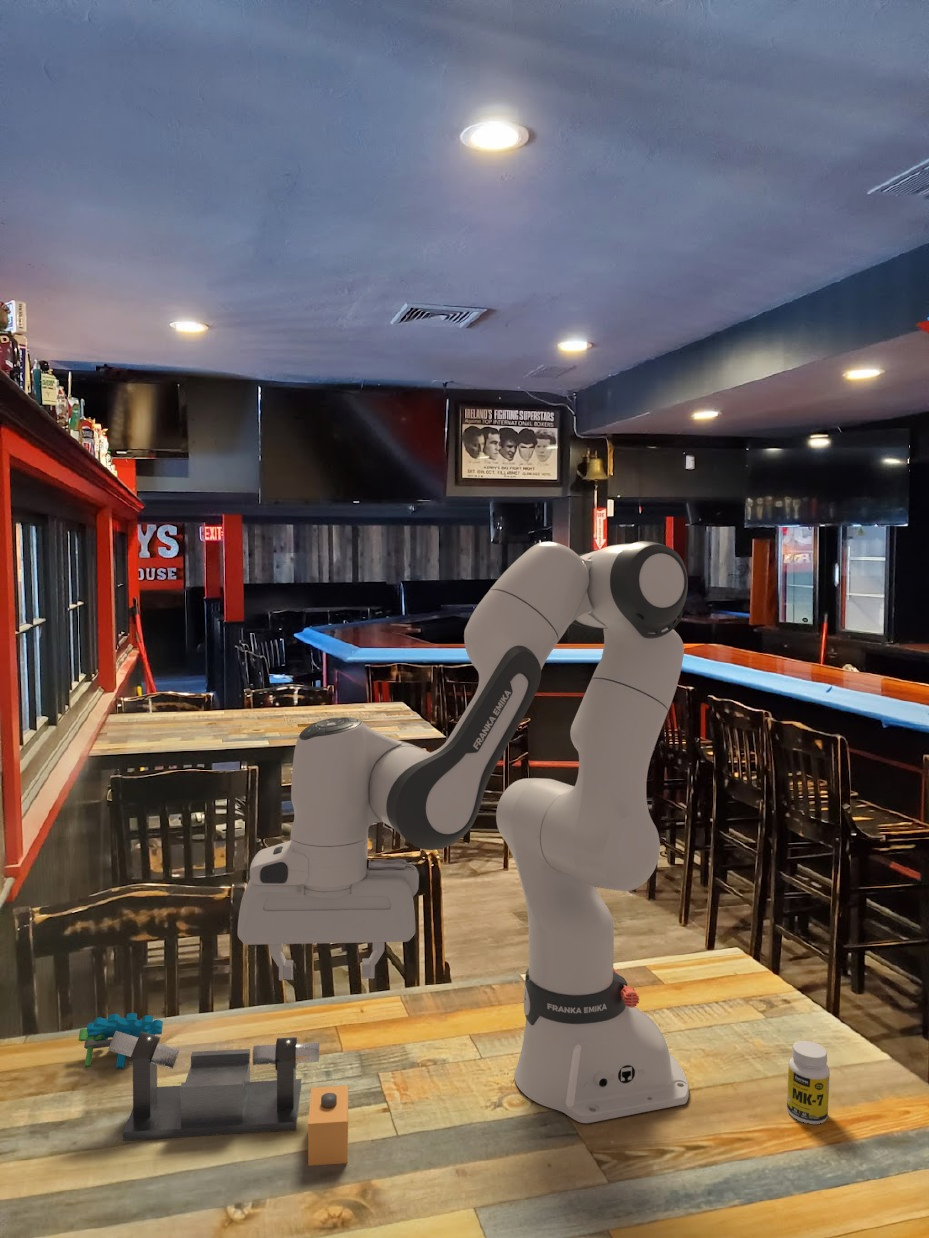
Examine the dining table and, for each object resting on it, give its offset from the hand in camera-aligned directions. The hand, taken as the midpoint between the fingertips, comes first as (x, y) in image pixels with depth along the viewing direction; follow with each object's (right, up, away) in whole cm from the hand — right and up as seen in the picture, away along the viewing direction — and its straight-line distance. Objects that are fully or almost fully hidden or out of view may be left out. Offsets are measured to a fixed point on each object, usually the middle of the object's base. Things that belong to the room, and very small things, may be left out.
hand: (327, 977), depth 103 cm
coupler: (0, -20, +1) cm, 20 cm away
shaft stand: (-15, -19, +7) cm, 25 cm away
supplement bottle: (+59, -20, +8) cm, 63 cm away
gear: (-31, -19, +19) cm, 41 cm away
